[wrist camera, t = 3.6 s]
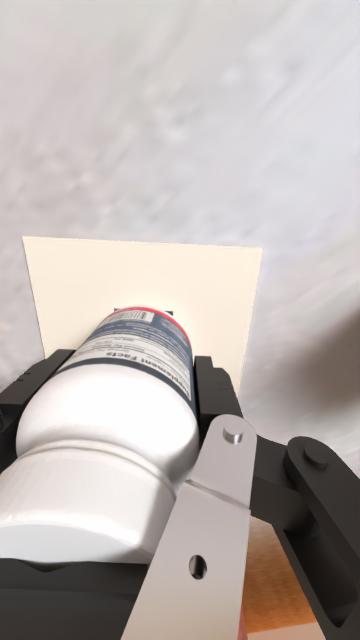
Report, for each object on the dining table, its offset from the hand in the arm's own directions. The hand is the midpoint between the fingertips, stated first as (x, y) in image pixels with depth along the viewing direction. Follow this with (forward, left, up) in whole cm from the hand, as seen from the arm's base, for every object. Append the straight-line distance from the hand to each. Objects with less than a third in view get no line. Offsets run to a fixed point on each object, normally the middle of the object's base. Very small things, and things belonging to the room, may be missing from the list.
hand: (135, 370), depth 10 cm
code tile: (0, 0, -2) cm, 2 cm away
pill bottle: (0, 0, -2) cm, 2 cm away
